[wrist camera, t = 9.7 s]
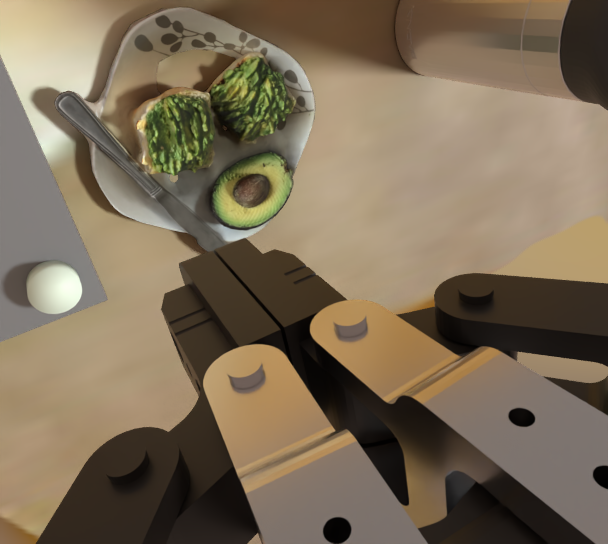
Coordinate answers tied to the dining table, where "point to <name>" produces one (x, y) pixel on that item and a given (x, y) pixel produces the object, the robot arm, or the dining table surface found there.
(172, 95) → the salad plate
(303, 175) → the dining table surface
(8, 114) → the base
